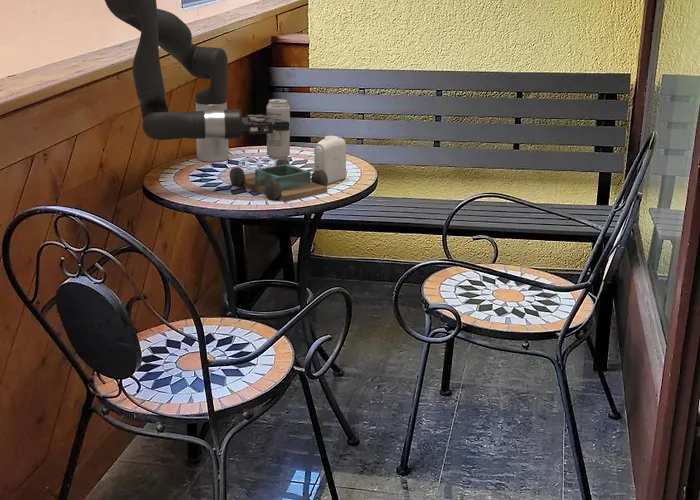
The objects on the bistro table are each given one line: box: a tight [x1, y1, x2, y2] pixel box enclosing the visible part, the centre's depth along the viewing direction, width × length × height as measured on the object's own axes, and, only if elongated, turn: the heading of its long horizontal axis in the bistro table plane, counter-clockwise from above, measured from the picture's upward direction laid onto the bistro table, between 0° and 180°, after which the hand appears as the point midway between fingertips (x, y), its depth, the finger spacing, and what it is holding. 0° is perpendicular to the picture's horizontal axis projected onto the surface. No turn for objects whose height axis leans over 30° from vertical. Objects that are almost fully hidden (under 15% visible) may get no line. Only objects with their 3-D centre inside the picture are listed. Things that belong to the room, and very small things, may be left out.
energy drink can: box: [266, 98, 291, 161], centre depth 211 cm, size 6×6×15 cm
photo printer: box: [313, 136, 347, 185], centre depth 223 cm, size 10×4×12 cm, turn 140°
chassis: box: [229, 159, 328, 203], centre depth 218 cm, size 24×17×5 cm
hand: (287, 123), depth 211 cm, fingers closed on energy drink can, 6 cm apart
